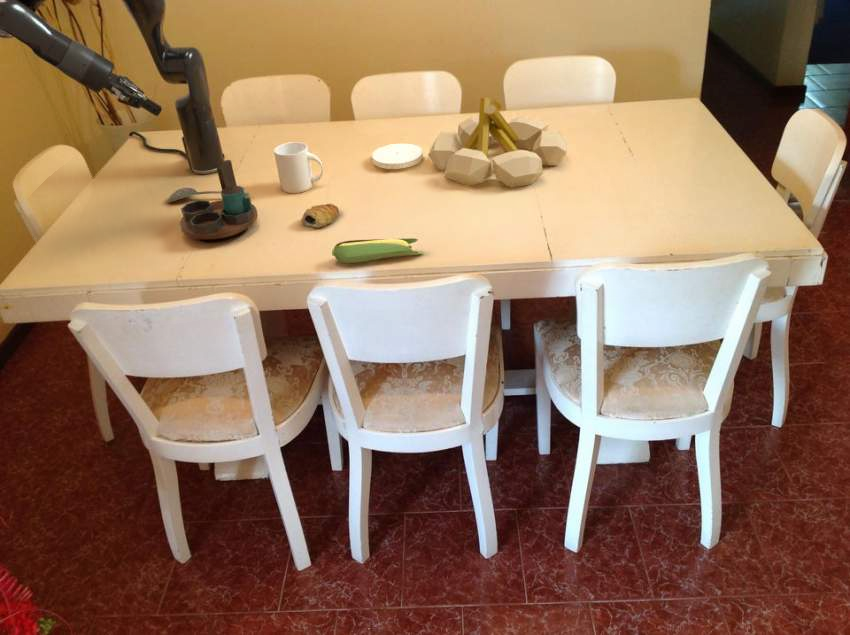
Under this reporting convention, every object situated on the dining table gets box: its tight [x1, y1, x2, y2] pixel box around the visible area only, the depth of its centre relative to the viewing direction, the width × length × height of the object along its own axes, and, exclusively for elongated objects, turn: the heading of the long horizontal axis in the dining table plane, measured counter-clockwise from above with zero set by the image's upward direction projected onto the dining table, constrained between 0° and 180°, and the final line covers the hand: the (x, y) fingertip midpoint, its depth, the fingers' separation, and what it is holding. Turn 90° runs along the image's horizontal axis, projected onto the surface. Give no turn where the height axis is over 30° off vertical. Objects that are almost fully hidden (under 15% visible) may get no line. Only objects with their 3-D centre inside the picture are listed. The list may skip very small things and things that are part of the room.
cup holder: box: [179, 159, 259, 240], centre depth 172 cm, size 19×18×11 cm
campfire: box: [427, 97, 568, 189], centre depth 192 cm, size 35×34×17 cm
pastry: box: [301, 203, 340, 229], centre depth 175 cm, size 9×7×4 cm
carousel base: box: [197, 228, 249, 244], centre depth 175 cm, size 13×13×2 cm
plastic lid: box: [371, 142, 424, 170], centre depth 201 cm, size 14×14×2 cm
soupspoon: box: [167, 187, 251, 203], centre depth 190 cm, size 22×3×7 cm
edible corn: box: [331, 237, 426, 264], centre depth 158 cm, size 5×20×5 cm, turn 94°
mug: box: [273, 141, 324, 194], centre depth 190 cm, size 9×12×11 cm
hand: (159, 111), depth 167 cm, fingers closed
